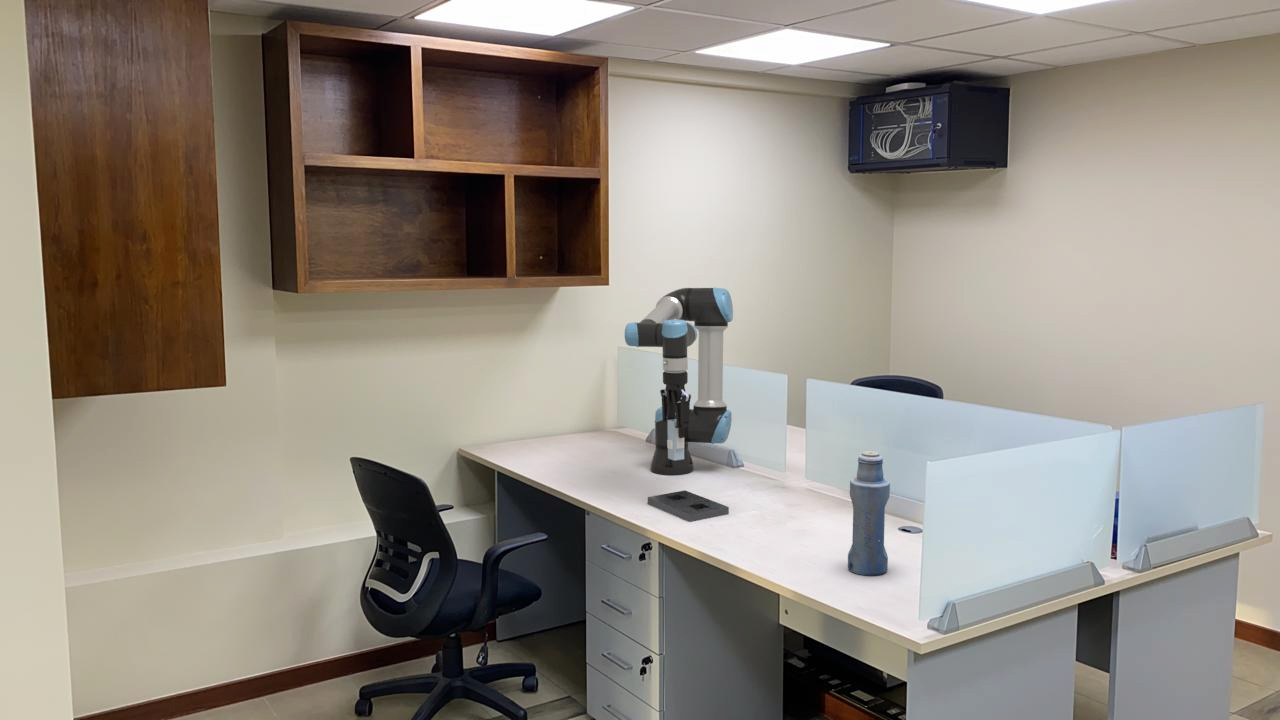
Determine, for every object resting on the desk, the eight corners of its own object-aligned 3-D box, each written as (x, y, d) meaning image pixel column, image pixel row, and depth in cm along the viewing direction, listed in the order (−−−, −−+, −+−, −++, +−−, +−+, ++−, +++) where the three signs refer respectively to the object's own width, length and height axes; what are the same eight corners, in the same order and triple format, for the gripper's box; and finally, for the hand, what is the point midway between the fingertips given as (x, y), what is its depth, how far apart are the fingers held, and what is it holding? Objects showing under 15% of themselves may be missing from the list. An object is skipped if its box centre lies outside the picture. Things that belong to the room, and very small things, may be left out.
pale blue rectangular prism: (677, 456, 308) (677, 418, 306) (684, 458, 305) (683, 420, 303) (666, 458, 306) (665, 420, 304) (672, 460, 303) (672, 422, 301)
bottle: (849, 561, 255) (851, 447, 251) (889, 565, 252) (891, 449, 248) (846, 574, 246) (847, 455, 242) (887, 577, 243) (889, 457, 239)
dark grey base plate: (685, 499, 316) (685, 490, 315) (728, 516, 296) (728, 506, 296) (647, 506, 308) (647, 497, 308) (690, 524, 289) (689, 514, 289)
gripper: (649, 368, 307) (651, 443, 310) (680, 375, 293) (681, 453, 296) (670, 366, 311) (671, 440, 314) (701, 373, 297) (701, 450, 300)
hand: (676, 446), depth 305 cm, fingers closed on pale blue rectangular prism, 4 cm apart
